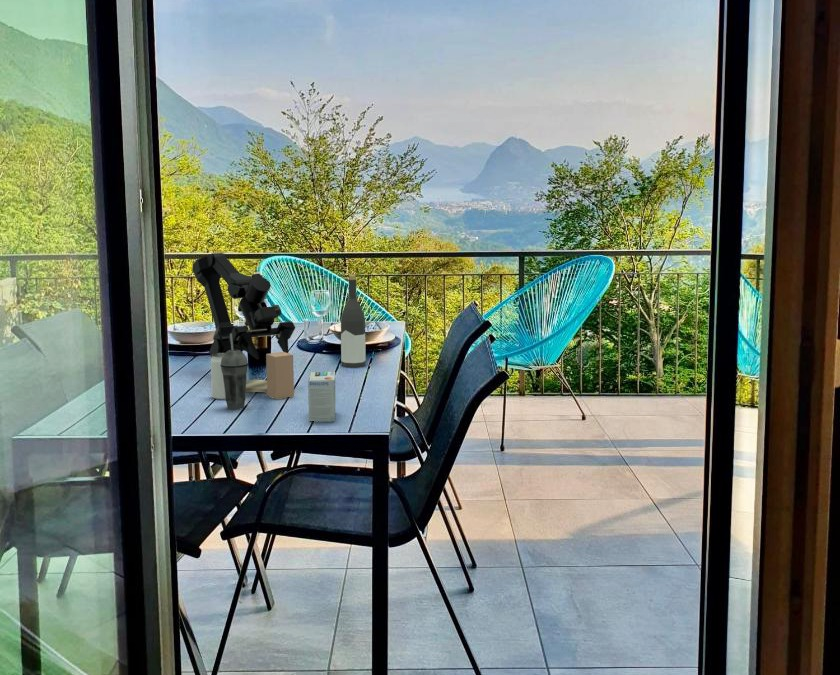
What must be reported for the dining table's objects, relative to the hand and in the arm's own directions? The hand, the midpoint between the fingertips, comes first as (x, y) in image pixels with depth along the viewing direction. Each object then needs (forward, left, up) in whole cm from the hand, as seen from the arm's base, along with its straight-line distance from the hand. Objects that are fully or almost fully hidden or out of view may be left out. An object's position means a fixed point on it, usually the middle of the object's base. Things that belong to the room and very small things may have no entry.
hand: (272, 356), depth 246 cm
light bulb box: (+23, -20, -11) cm, 33 cm away
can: (-12, -7, -11) cm, 18 cm away
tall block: (+3, -2, -11) cm, 11 cm away
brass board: (-7, +6, -11) cm, 14 cm away
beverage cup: (-3, -17, -11) cm, 21 cm away
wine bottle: (+7, +46, -11) cm, 48 cm away
